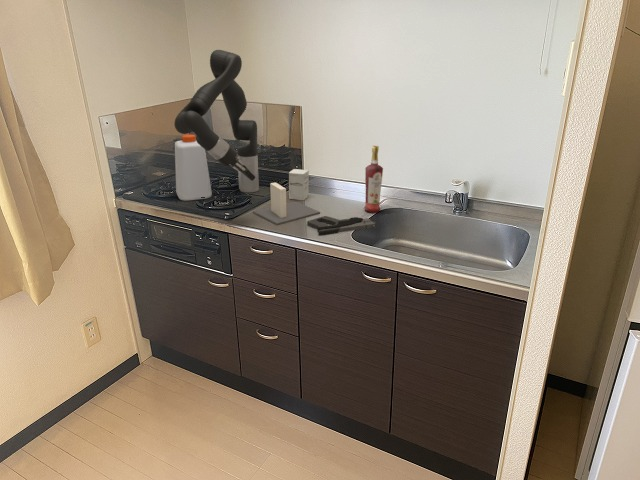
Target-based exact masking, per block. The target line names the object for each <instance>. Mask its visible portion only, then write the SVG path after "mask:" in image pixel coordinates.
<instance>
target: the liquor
mask: <svg viewBox="0 0 640 480" xmlns="http://www.w3.org/2000/svg"><path fill="white" fill-rule="evenodd" d="M379 149H380V148H379V146H378V145H372V146H371V153H372V154H371V162H370V164H369V165H367V166H366V167H365V168H364V170H365V173H364V174H365V177H364V178H365V179H364V181H365V205H364V207H363V209H364V210H365V211H366V212H368V213H373V214H375V213H377V212H378V211H380V209H381V207H380V204H381V203H380V200H381V191H382V190H381V189H382V184H383V183H382V182H383V173H384V168H383V166H381V165H379Z"/></svg>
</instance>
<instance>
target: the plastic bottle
mask: <svg viewBox="0 0 640 480" xmlns="http://www.w3.org/2000/svg"><path fill="white" fill-rule="evenodd" d="M196 137H197V135H196V134H182V136H181V140H177V141H175V142H174V161H175V163H174V165H175V190H176V191H175V192H176V195H177V197H178V199H179V200H181V201H185V202H189V201H197V200H205V199H209V198H211V197H212V195H213V192H212V187H211V180H210V172H209V166H208V160H207V154H206V152H207V151H206V150H205V149H204V148H203V147H201V146H200V145H199V144H198V143H197V141H196ZM201 197H205V198H201Z"/></svg>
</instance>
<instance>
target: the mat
mask: <svg viewBox="0 0 640 480" xmlns="http://www.w3.org/2000/svg"><path fill="white" fill-rule="evenodd" d="M286 204H287V215H286V217H282V218H281V217H279V216H278V215H277V214H275V213H274V212H273V211H271V206H269V207H266V208H261V209H257V210H253V211H252V213H253V214H254V215H256V216H259V217H260V218H261V219H264V220H266V221H268V222H270V223H272V224H274V225H275V226H279V225H280V226H281V225H283V224H286V223H291V222H293V221H298V220H302V219H305V218H306V219H307V218H309V217H313V216H316V215H320V214H321V211H320V210H317V209H314V208H311V207H309V206H307V205H305V204H302V203H300V202H298V201H297V200H295V201H291V202H286Z"/></svg>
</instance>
